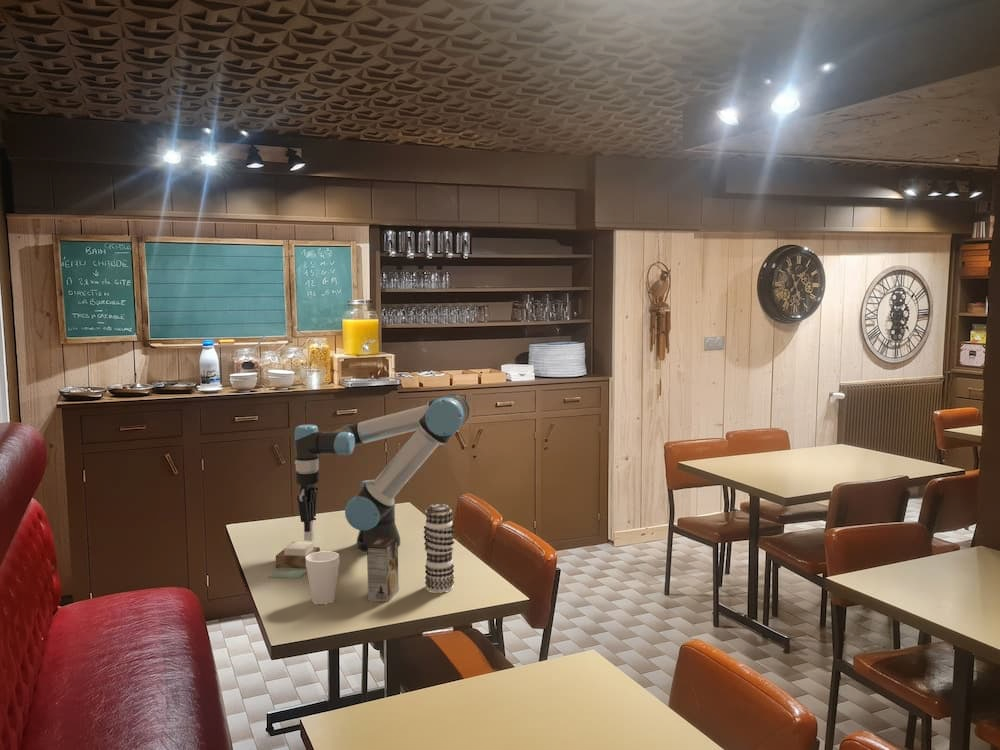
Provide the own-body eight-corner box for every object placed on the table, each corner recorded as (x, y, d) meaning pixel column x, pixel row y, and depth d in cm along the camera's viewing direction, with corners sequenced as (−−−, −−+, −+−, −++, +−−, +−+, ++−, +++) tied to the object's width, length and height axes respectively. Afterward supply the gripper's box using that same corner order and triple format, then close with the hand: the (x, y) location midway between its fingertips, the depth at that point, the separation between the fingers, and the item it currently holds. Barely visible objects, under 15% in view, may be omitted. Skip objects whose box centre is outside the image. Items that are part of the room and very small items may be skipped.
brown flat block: (320, 559, 256) (319, 547, 255) (308, 569, 246) (308, 557, 245) (288, 557, 257) (288, 546, 257) (275, 567, 247) (275, 555, 247)
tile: (313, 549, 253) (313, 542, 253) (305, 556, 247) (304, 549, 246) (292, 548, 254) (292, 541, 254) (284, 555, 247) (284, 548, 247)
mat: (309, 569, 245) (309, 568, 245) (299, 579, 237) (299, 577, 237) (279, 568, 247) (279, 567, 247) (268, 577, 239) (268, 576, 238)
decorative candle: (455, 593, 226) (454, 509, 223) (423, 593, 225) (422, 510, 223) (455, 581, 235) (454, 501, 232) (424, 582, 234) (423, 502, 232)
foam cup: (310, 609, 214) (309, 563, 213) (303, 598, 222) (301, 554, 221) (344, 603, 218) (343, 558, 217) (335, 592, 226) (334, 549, 225)
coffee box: (378, 588, 229) (377, 536, 228) (399, 590, 228) (398, 537, 226) (367, 600, 220) (366, 546, 219) (388, 602, 219) (387, 547, 217)
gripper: (304, 466, 264) (305, 533, 266) (288, 475, 251) (290, 545, 253) (325, 467, 263) (326, 534, 265) (310, 476, 250) (312, 546, 252)
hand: (309, 539), depth 259 cm, fingers closed
